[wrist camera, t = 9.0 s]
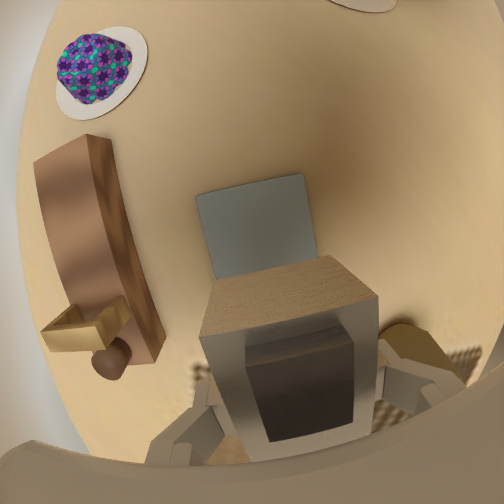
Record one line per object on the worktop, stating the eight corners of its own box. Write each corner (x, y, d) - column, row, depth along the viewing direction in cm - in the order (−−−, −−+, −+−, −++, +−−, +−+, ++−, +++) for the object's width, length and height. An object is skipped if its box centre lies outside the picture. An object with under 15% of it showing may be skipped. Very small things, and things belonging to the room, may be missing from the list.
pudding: (47, 118, 22) (20, 112, 17) (83, 31, 19) (62, 15, 14) (126, 126, 23) (102, 116, 18) (166, 29, 20) (153, 5, 15)
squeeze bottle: (413, 356, 31) (481, 442, 13) (363, 374, 31) (420, 479, 14) (420, 307, 29) (512, 389, 11) (366, 324, 29) (448, 435, 12)
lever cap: (214, 280, 10) (193, 356, 5) (330, 255, 10) (393, 309, 5) (264, 441, 12) (271, 511, 8) (341, 423, 12) (366, 489, 8)
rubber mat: (196, 195, 25) (194, 196, 24) (301, 173, 24) (302, 173, 24) (230, 326, 28) (230, 330, 27) (322, 307, 28) (324, 310, 27)
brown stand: (61, 163, 23) (-7, 163, 13) (110, 140, 23) (45, 125, 13) (116, 342, 29) (78, 399, 18) (166, 337, 28) (138, 402, 18)
